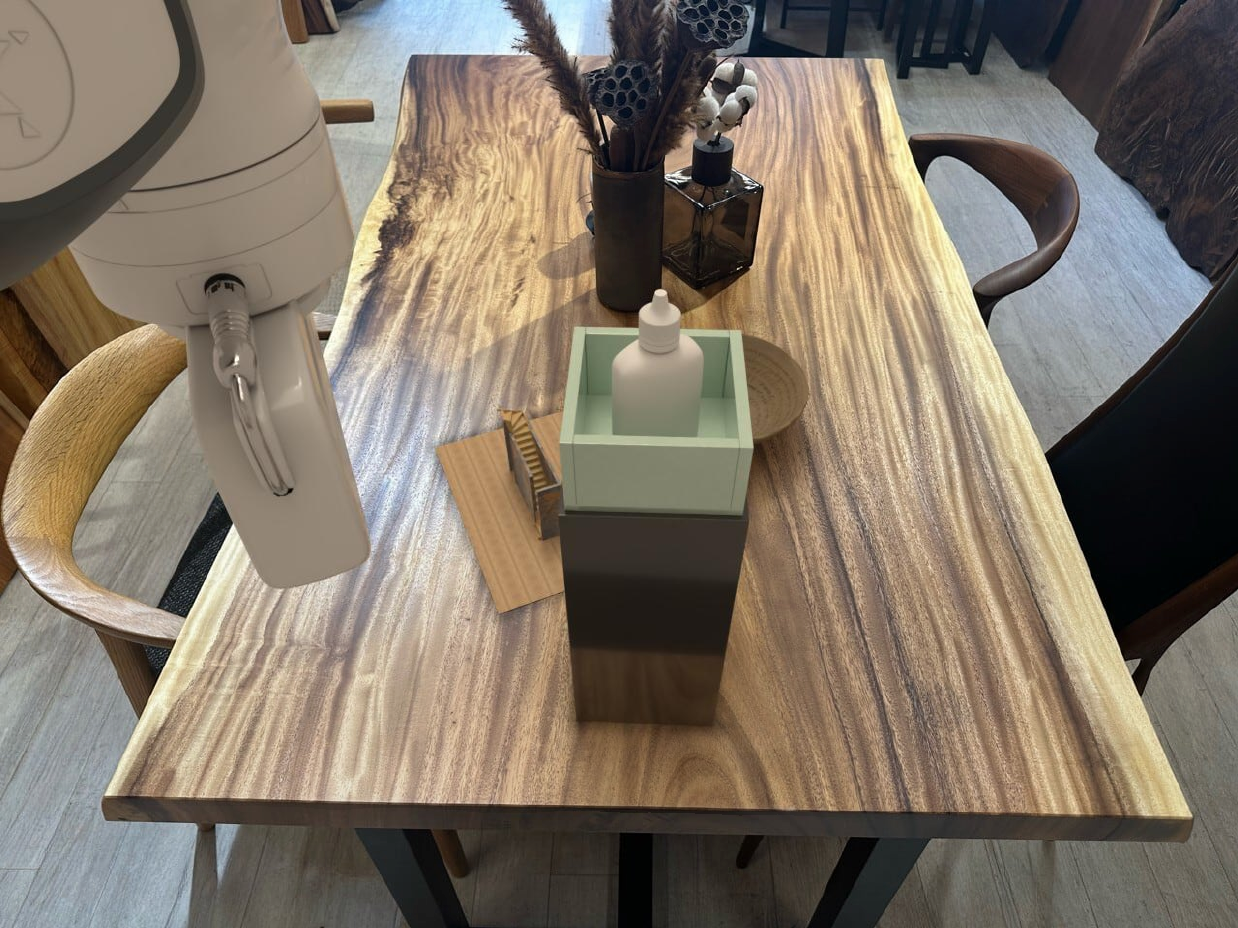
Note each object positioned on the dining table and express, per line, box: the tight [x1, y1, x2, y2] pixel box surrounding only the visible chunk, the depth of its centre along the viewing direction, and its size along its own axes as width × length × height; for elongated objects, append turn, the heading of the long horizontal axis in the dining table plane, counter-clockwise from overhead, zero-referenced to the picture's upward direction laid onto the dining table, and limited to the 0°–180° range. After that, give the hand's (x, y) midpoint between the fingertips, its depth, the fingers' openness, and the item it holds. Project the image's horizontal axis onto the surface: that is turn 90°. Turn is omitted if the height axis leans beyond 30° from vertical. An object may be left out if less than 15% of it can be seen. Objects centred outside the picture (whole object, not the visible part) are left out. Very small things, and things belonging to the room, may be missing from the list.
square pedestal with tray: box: [558, 326, 755, 727], centre depth 62 cm, size 12×12×34 cm
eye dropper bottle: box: [612, 288, 704, 437], centre depth 50 cm, size 4×6×12 cm
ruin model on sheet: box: [434, 408, 564, 615], centre depth 85 cm, size 25×16×10 cm, turn 23°
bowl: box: [741, 332, 810, 446], centre depth 93 cm, size 18×18×8 cm
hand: (321, 484), depth 37 cm, fingers open, 8 cm apart
